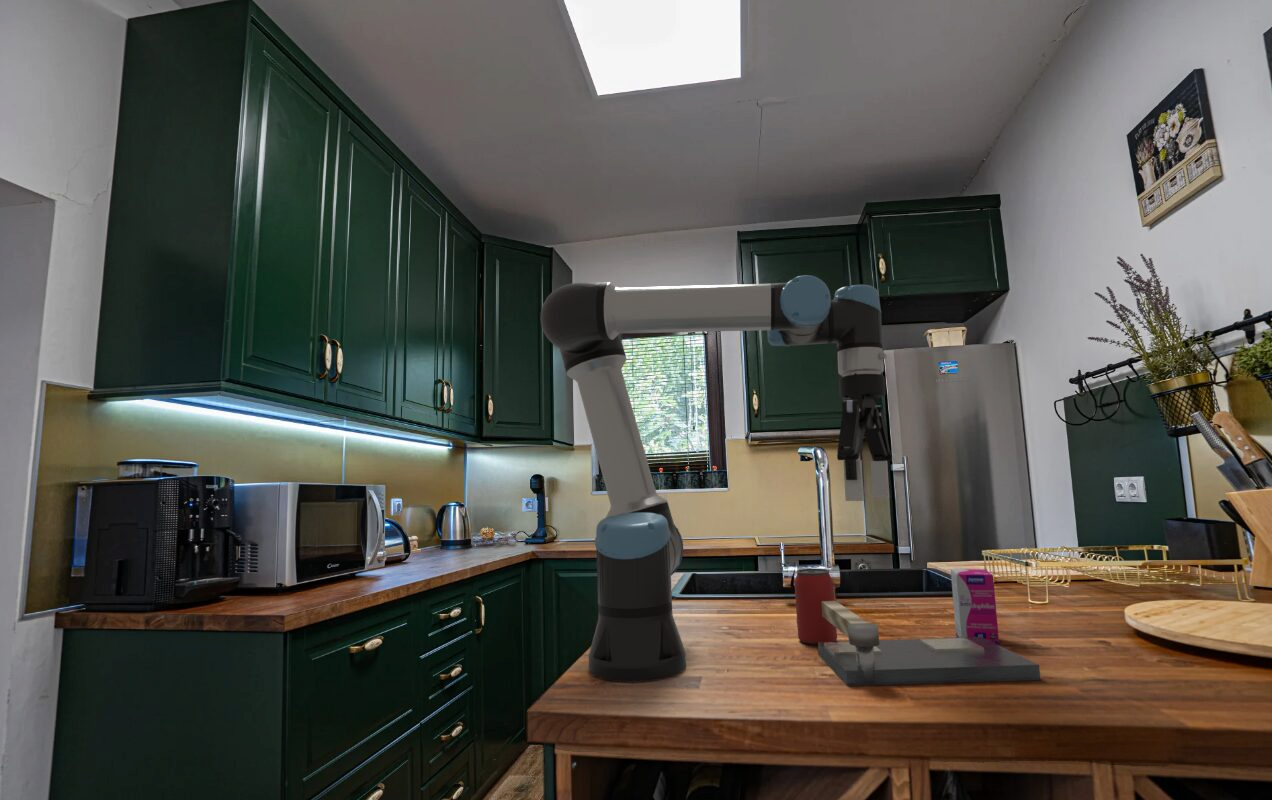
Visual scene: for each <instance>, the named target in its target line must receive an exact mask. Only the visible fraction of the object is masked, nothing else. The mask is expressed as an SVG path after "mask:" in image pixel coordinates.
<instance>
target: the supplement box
mask: <svg viewBox="0 0 1272 800" xmlns="http://www.w3.org/2000/svg"><path fill="white" fill-rule="evenodd" d="M950 578H951V588H952V589H951V590H952V602H953V603H952V604H953V616H954V626H955V627H954V629H955V636H956V638H963V637H983V638H985V639H987V640H989V641H991V642H993V643H995V644H997V645H999V644H1000V637H999V628H998V627H999V626H998V624H999V623H998V615H997V604H996V603H997V602H996V593H995V581H994V580H995V579H994V575H993V574H992V573H991V572H990V571H988V570H987V569H984V568H983V569H981V568H979V569H978V568H977V569H976V568H951V569H950ZM999 646H1000V645H999Z"/></svg>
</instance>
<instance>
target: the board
mask: <svg viewBox="0 0 1272 800" xmlns="http://www.w3.org/2000/svg"><path fill="white" fill-rule="evenodd" d="M817 648H818V649H817V650H818V656H819V657H820V658H821V659H822V661H824V662H825V664H826V665H828V667H829V668H830V669H831V670H832V671H833V673H835V674H836V676H838V678H839V679H840V680H841V681H842V682H843V683H844V684H845V686H847V687H859V686H861V687H863V686H865V683H864V670H860V669H857V662H856V649H855V646H853V645H851V644H849V640H847V641H841V640H840V641H835V642H818V645H817ZM874 659H875V670H873V674H874V686H891V685H892V686H895V685H897V686H898V685H925V684H927V685H929V684H953V683H954V684H958V683H961V684H962V683H989V682H994V681H996V682H1021V681H1022V682H1023V681H1024V682H1025V681H1028V682H1029V681H1041V680H1042V679H1041V671H1040V664H1038V663H1036V662H1034V661H1032V660H1031V659H1028V658H1026V657H1024V656H1021V655H1020V654H1018V653H1016V652H1014V651H1011V650H1010V649H1007V648H1005V647H1003V646H1001V645H997V644H995V643H993V642H991V641H989V640H987V639H985V638H983V637H963V638H958V637H936V638H909V639H908V638H906V639H879V645H878V646H874ZM865 687H866V686H865Z"/></svg>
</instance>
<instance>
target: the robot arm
mask: <svg viewBox="0 0 1272 800" xmlns="http://www.w3.org/2000/svg"><path fill="white" fill-rule="evenodd" d="M540 325H541V329H542V331H543V333H544V335H545V337H546V338H547V339H548V341H549V342H550V343H551V344H553V346H555V347H556V348H558V349H559V352H560V355H561V359H562V362H563V366H564V370H565V372H566V376H567V377H569V378H570V379H572V380H574V381H575V382H576V383H577V387H578V390H579V394H580V397H581V401H582V404H583V409H584V412H585V416H586V419H587V423H588V426H589V430H590V434H591V437H592V442H593V445H594V448H595V452H596V455H597V460H598V463H599V467H600V470H601V471H600V472H601V474H602V478H603V482H604V485H605V488H606V489H605V490H606V493H607V496H608V500H609V504H610V509H609V511H608V512H607V514H606V517H605V518H603V519H601V520H600V521H599V522H598V523H597V525H596V529H595V530H596V531H595V532H596V533H595V538H594V543H595V544H594V545H595V551H596V553H595V554H596V576H597V577H596V579H597V582H596V583H597V604H598V618H597V619H598V620H597V623H596V627H595V632H594V634H593V637H592V640H591V641H592V643H591V645H590V649H589V653H588V672H589V673H590V675H592V676H594V677H596V678H599V679H603V680H607V681H614V682H615V681H616V682H648V681H655V680H661V679H665V678H669V677H670V678H671V677H673V676H676V675H678V674H680V673H682V672H683V671H685V669H686V668H687V657H686V656H687V655H686V649H685V647H684V643H683V642H682V638H681V635H680V632H679V630H678V627H677V624H676V621H675V618H674V614H673V594H672V576H673V575H674V574H675V573H676V571H677V570H678V568H679V566H681V562H682V560H683V559H682V558H683V555H684V541H683V537H682V534H681V532H680V530H679V528H678V527H677V526H676V525H675V523H674V520H673V516H672V513H671V509H670V505H669V502H668V500H667V499H666V498H664V497H662V496H660V495H659V494H658V493H657V490H656V487H655V484H654V480H653V477H652V472H651V470H650V466H649V463H648V458H647V455H646V452H645V448H644V445H643V441H642V437H641V434H640V431H639V428H638V424H637V420H636V417H635V413H634V410H633V406H632V403H631V400H630V396H629V392H628V389H627V384H626V381H625V378H624V375H623V371H622V369H623V367H624V365H625V363H626V362H627V355H626V351H625V347H624V344H623V334H652V333H653V334H654V333H656V334H658V333H693V332H695V333H700V332H701V333H702V332H705V333H706V332H745V331H747V332H748V331H750V332H751V331H754V332H755V331H767V341H768V343H769V345H771V346H772V347H774V346H775V347H781V346H782V347H790V346H792V347H793V346H807V345H820V344H829V345H830V344H836V347H837V370H838V371H837V373H838V375H840V376H841V377H840V378H839V380H838V383H839V384H838V385H839V386H838V387H839V398H841V400H842V402H841V403H842V404H841V408H842V409H841V410H842V414H841V420H840V421H841V422H840V429H839V436H838V446H837V454H836V458H837V460H838V461H843V473H844V474H843V476H844V477H843V478H844V496H845V497H844V498H845V502H864V501H865V500H864V499H865V498H864V480H863V461H862V459H861V460H860V455H861V451H862V450H861V449H862V447H863V441H864V438H865V440H866V443H867V446H868V450H869V452H870V455H871V458H872V460H871V461H870V473H871V474H870V475H871V476H870V477H871V492H872V495H871V496H872V499H890V487H889V486H890V485H889V482H890V481H889V472H888V470H889V469H888V468H889V467H888V461H893V454H892V452H891V449H890V443H889V439H888V438H889V437H888V433H887V429H886V424H885V419H884V413H883V409H884V408H883V406H882V404H880V405H876V403H877V402H876V399H880V398H884V397H885V396H886V392H887V391H886V377H885V376H884V375H883V374H882V373H883V372H884V371H885V367H884V365H885V364H884V360H885V359H887V355H886V353H884V350H883V349H884V347H883V327H882V326H883V325H882V310H881V302H880V294H879V291H878V289H877V288H876V287H875V286H872V285H868V284H853V285H849V286H843V287H840V288H838V289H837V290H835V293H834V298H833V299H832V298H831V292H830V289H829V287H828V286H827V284H826V283H825V282H824V281H823V280H822V279H820V278H819V277H817V276H815V275H809V274H806V275H805V274H803V275H798V276H796V277H793V278H792V279H790V280H789V281H788V282H775V283H774V282H773V283H752V284H751V283H749V284H747V283H746V284H742V283H741V284H713V285H712V284H711V285H709V284H708V285H706V284H705V285H680V286H679V285H678V286H677V285H675V286H645V287H643V286H642V287H641V286H640V287H638V286H637V287H636V286H635V287H617V285H616V284H614V282H613V281H603V282H602V281H600V282H577V283H576V282H575V283H567V284H564V285H562V286H560V287H557V288H556V289H554V290H553V291H552V292H550V294H549V295H548V296H547V297H546V299H545V300H544V302H543V304H542V307H541V311H540Z"/></svg>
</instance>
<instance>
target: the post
mask: <svg viewBox="0 0 1272 800" xmlns="http://www.w3.org/2000/svg"><path fill="white" fill-rule="evenodd" d="M855 649H856V662H857V669H860V670H864V683H865V687H871V686H872V687H873V686H875V685H874V674H873V670H875V659H874V647H859V646H855Z"/></svg>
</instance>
